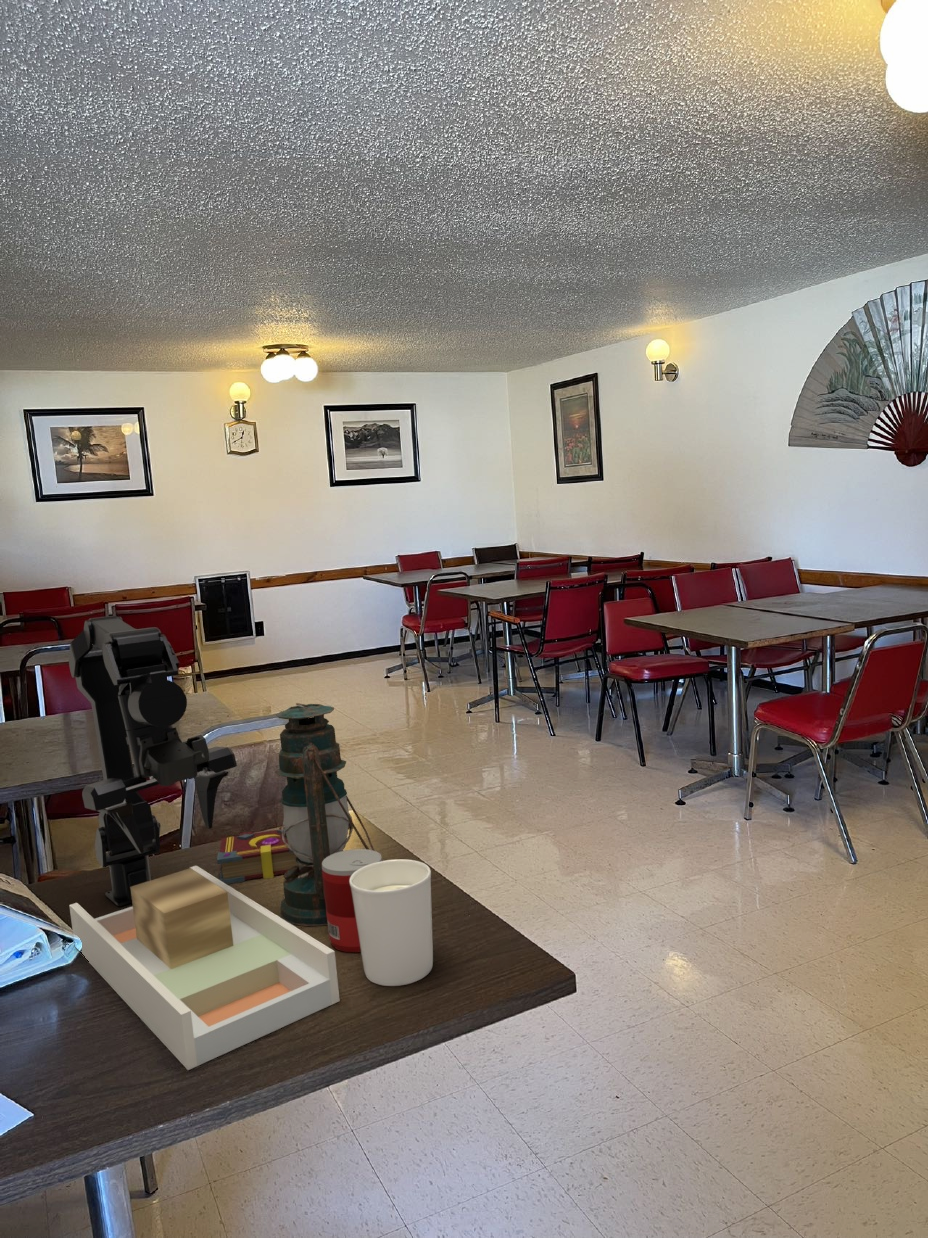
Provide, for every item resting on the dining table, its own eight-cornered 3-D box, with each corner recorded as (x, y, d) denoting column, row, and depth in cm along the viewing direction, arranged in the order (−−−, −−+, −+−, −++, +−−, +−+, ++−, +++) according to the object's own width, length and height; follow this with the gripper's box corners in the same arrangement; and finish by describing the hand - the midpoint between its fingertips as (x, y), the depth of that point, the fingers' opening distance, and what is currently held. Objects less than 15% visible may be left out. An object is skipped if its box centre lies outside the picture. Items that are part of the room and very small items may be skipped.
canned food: (380, 954, 113) (372, 870, 112) (320, 953, 115) (312, 870, 114) (396, 927, 121) (389, 848, 120) (340, 926, 122) (332, 848, 121)
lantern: (279, 888, 138) (259, 696, 134) (372, 873, 140) (354, 685, 137) (281, 943, 119) (257, 721, 115) (388, 925, 121) (368, 708, 118)
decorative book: (223, 862, 152) (220, 833, 151) (319, 847, 155) (316, 819, 154) (220, 887, 141) (216, 857, 140) (323, 871, 144) (320, 841, 143)
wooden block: (136, 938, 117) (130, 887, 116) (195, 918, 122) (189, 868, 121) (171, 969, 108) (164, 913, 107) (233, 945, 112) (227, 892, 112)
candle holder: (450, 953, 112) (442, 861, 111) (421, 994, 103) (412, 893, 102) (379, 947, 115) (370, 857, 114) (344, 986, 106) (334, 888, 105)
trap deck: (74, 947, 123) (69, 905, 122) (200, 904, 134) (196, 865, 133) (187, 1070, 92) (181, 1014, 91) (339, 1001, 103) (334, 951, 102)
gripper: (92, 746, 105) (123, 874, 106) (239, 705, 116) (266, 821, 117) (68, 744, 114) (97, 863, 114) (207, 707, 125) (232, 815, 126)
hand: (176, 840), depth 118 cm, fingers open, 9 cm apart
